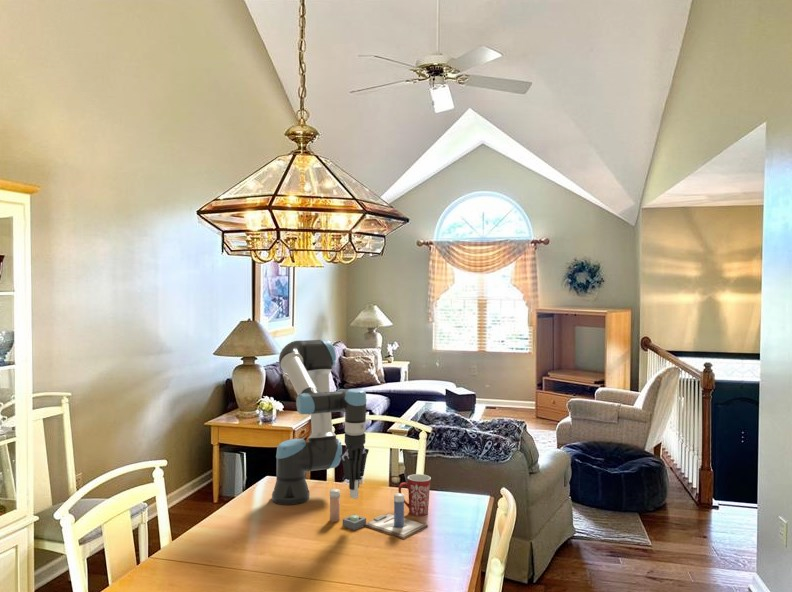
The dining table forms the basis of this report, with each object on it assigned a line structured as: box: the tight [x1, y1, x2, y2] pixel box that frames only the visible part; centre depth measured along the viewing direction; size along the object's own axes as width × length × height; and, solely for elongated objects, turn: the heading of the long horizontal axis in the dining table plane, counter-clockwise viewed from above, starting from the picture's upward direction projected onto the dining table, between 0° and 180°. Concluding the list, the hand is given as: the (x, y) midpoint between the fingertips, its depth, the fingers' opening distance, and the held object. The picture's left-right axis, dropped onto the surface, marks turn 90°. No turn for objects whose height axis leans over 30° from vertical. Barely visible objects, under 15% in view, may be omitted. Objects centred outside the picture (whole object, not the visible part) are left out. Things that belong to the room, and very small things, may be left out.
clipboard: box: [363, 512, 429, 540], centre depth 212 cm, size 18×14×2 cm
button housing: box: [342, 514, 367, 531], centre depth 213 cm, size 6×6×2 cm
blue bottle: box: [393, 492, 405, 528], centre depth 210 cm, size 4×4×11 cm
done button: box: [350, 514, 360, 522], centre depth 213 cm, size 3×3×2 cm
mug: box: [397, 473, 432, 517], centre depth 226 cm, size 13×9×14 cm
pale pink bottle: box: [329, 488, 341, 523], centre depth 217 cm, size 4×4×11 cm
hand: (354, 497), depth 213 cm, fingers closed
